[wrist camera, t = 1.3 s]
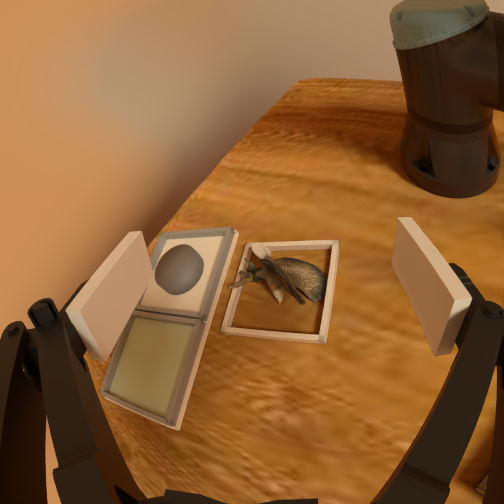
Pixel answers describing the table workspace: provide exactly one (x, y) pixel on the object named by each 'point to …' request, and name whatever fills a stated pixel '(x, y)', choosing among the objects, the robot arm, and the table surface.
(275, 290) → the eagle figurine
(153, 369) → the tray
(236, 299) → the white square frame
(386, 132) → the table surface
